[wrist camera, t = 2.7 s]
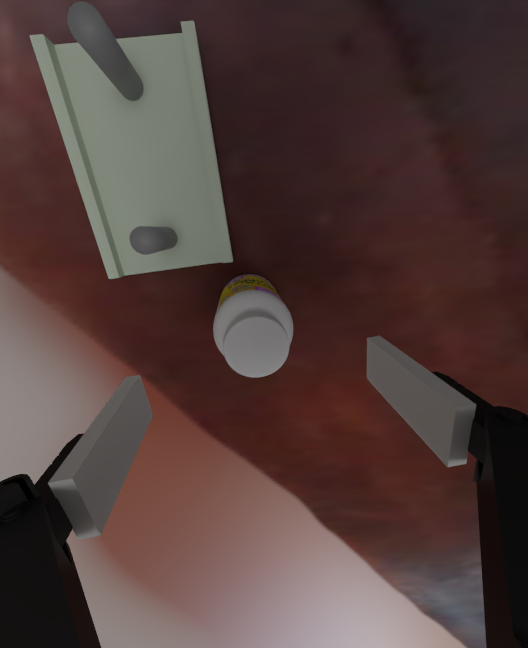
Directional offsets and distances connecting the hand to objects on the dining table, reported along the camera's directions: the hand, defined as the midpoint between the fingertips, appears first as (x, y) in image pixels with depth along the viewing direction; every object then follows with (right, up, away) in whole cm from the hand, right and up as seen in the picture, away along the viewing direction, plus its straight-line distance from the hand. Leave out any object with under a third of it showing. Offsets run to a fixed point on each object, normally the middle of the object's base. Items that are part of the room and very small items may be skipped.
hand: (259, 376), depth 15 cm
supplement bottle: (-2, +6, +15) cm, 16 cm away
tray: (-10, +18, +10) cm, 23 cm away
